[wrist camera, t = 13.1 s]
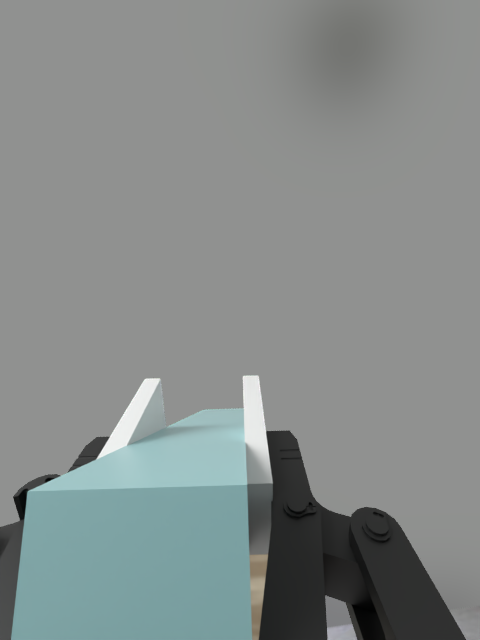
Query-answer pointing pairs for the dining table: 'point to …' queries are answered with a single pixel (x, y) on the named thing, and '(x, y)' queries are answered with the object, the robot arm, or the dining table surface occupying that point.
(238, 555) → the teal block
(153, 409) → the robot arm
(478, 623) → the dining table surface
